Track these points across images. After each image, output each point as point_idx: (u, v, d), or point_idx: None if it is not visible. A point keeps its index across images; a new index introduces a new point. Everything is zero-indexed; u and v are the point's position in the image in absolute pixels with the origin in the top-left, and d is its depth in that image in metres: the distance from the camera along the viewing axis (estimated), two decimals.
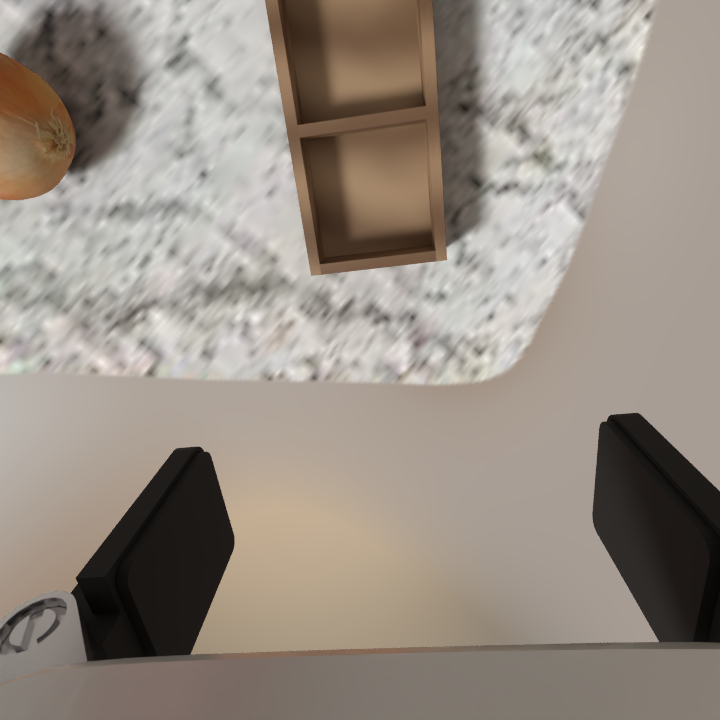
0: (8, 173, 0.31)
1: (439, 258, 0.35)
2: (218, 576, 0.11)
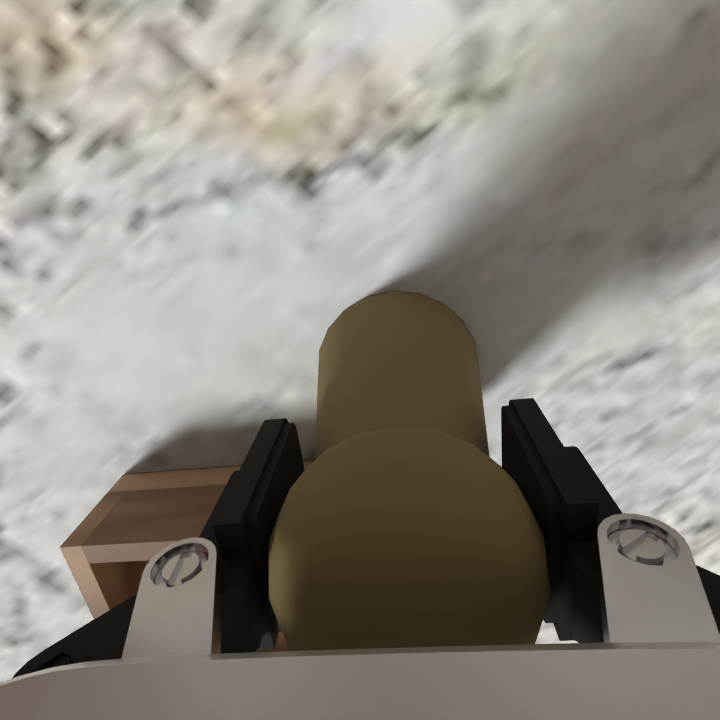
0: None
1: None
2: None
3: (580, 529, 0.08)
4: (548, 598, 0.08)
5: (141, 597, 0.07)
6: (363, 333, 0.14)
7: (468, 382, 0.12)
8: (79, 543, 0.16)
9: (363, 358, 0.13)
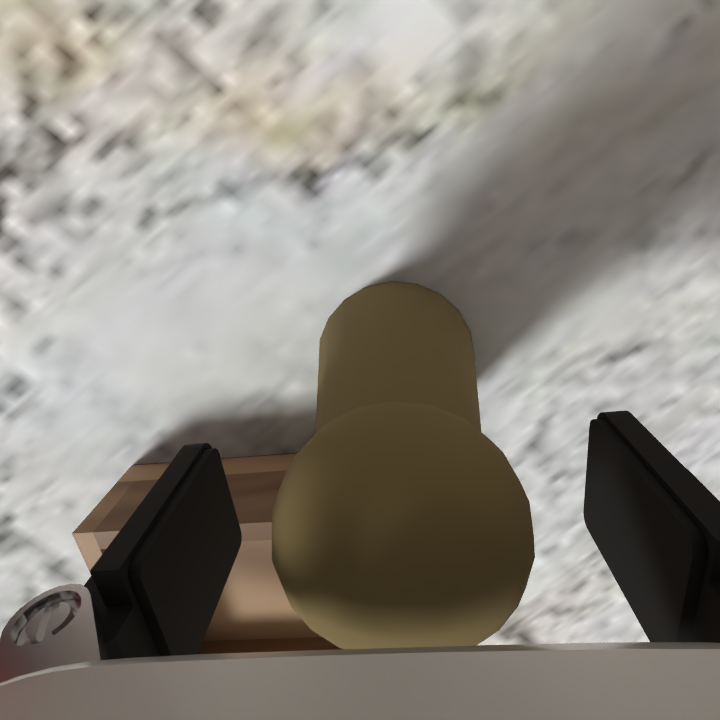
0: None
1: None
2: (226, 571, 0.11)
3: None
4: (532, 559, 0.08)
5: (4, 663, 0.06)
6: (362, 320, 0.14)
7: (462, 366, 0.13)
8: (90, 529, 0.17)
9: (362, 343, 0.13)
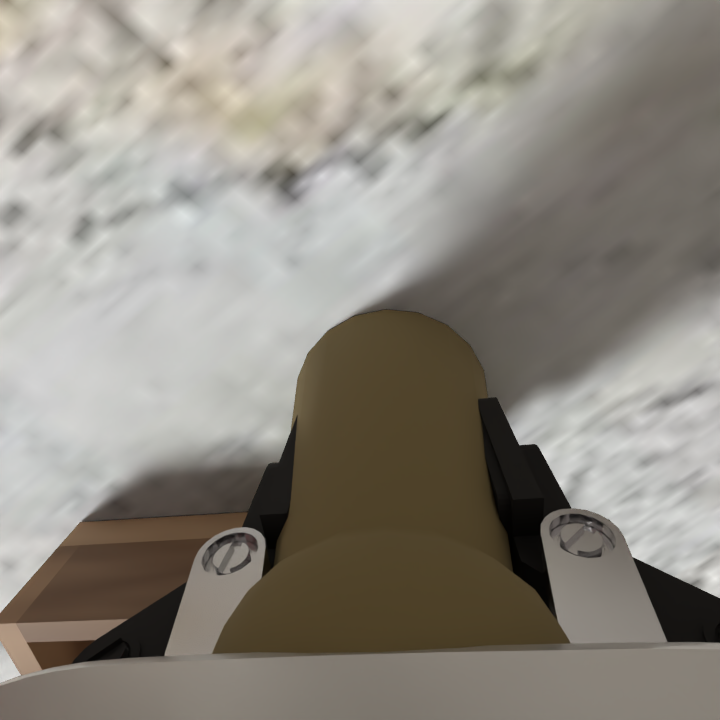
0: None
1: None
2: None
3: (527, 524, 0.08)
4: None
5: (191, 582, 0.07)
6: (347, 366, 0.11)
7: (480, 435, 0.10)
8: (14, 618, 0.13)
9: (345, 402, 0.10)
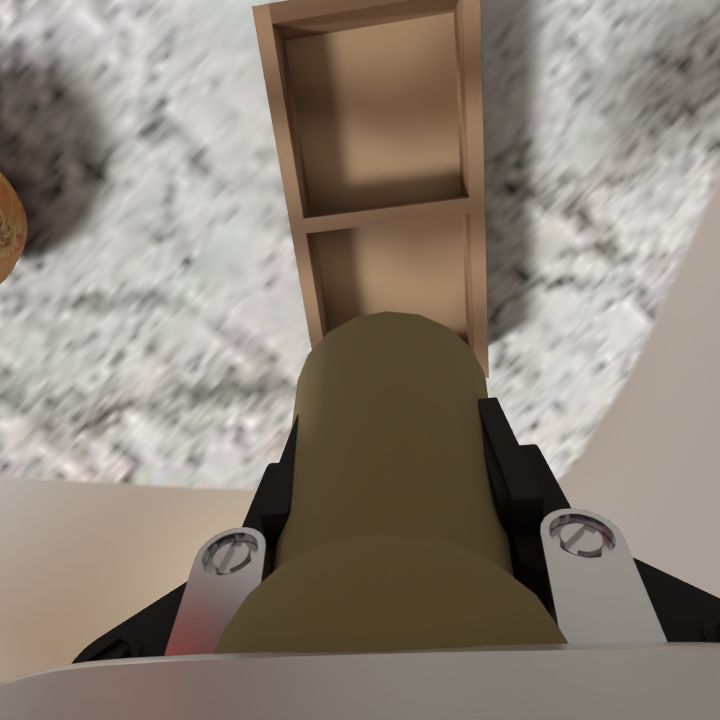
0: None
1: None
2: None
3: (527, 523, 0.08)
4: None
5: (191, 582, 0.07)
6: (347, 368, 0.11)
7: (481, 438, 0.10)
8: (265, 5, 0.22)
9: (345, 405, 0.10)
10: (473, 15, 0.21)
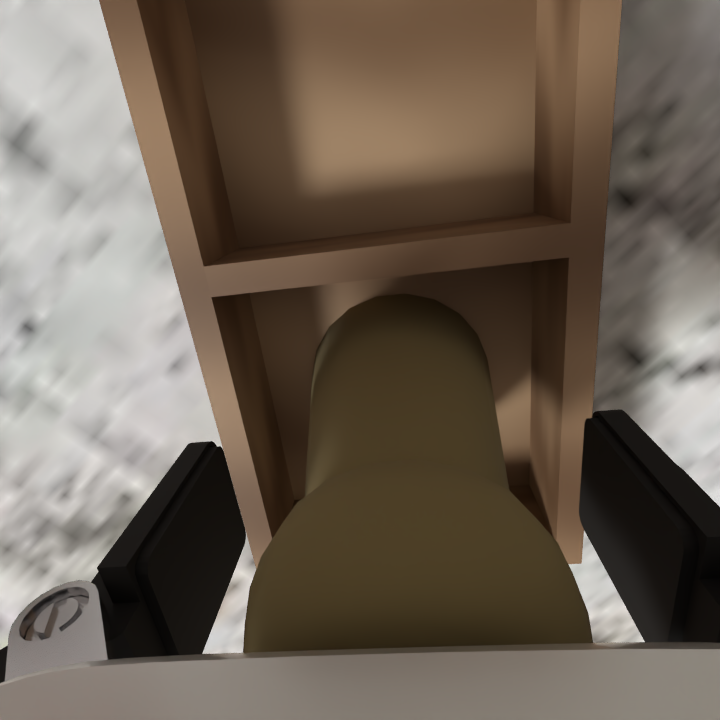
0: None
1: None
2: (231, 569, 0.11)
3: (719, 565, 0.07)
4: None
5: (13, 658, 0.06)
6: (372, 337, 0.12)
7: (488, 406, 0.11)
8: None
9: (373, 366, 0.11)
10: None
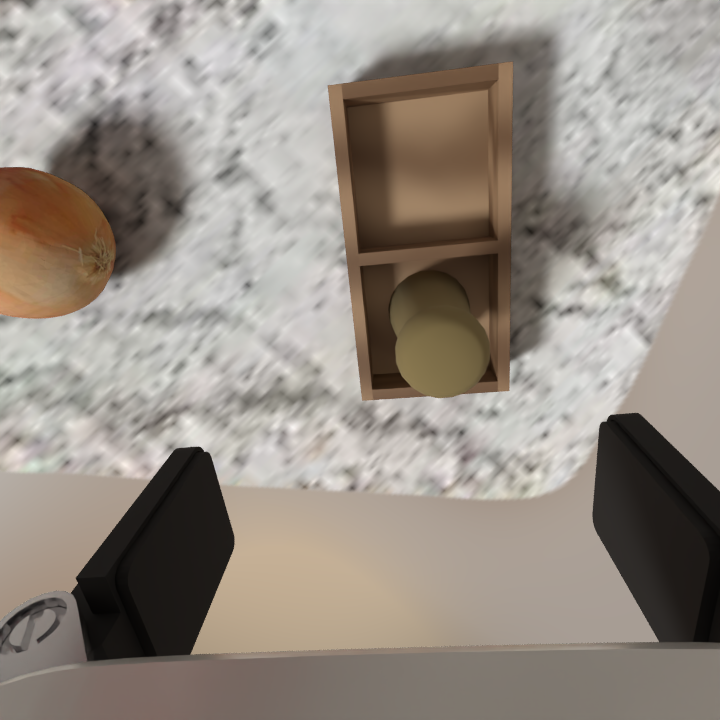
0: (46, 301, 0.29)
1: (501, 389, 0.33)
2: (218, 576, 0.11)
3: None
4: (488, 360, 0.25)
5: None
6: (422, 284, 0.31)
7: (467, 307, 0.29)
8: (338, 84, 0.27)
9: (424, 291, 0.29)
10: (507, 97, 0.27)
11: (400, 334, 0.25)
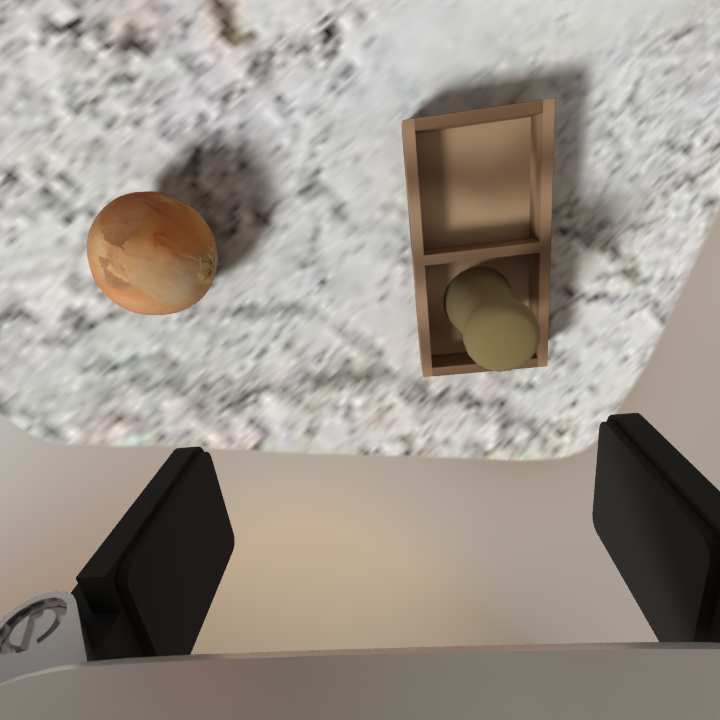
0: (173, 301, 0.36)
1: (540, 364, 0.40)
2: (218, 576, 0.11)
3: None
4: (539, 340, 0.31)
5: None
6: (476, 279, 0.37)
7: None
8: (411, 119, 0.33)
9: (480, 286, 0.36)
10: (549, 126, 0.33)
11: (468, 321, 0.32)
